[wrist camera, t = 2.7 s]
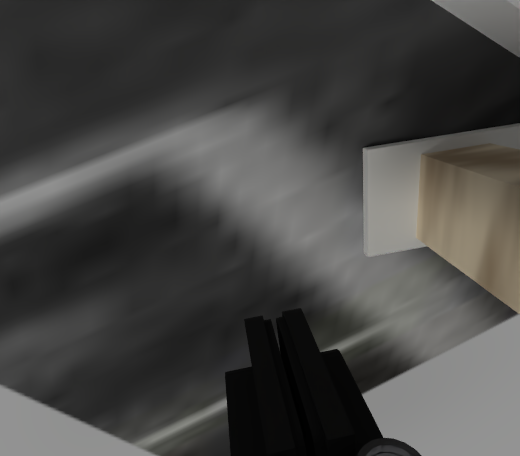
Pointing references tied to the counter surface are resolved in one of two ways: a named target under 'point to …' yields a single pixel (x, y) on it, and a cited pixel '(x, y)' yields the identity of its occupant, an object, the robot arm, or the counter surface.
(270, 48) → the counter surface
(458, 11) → the bracket
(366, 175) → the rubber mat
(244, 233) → the counter surface
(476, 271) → the maple block
